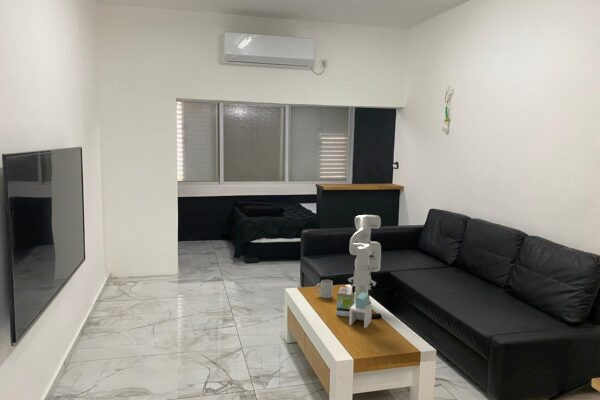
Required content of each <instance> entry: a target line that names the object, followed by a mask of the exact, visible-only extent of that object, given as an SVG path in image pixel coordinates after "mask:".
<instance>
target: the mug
mask: <svg viewBox="0 0 600 400" xmlns="http://www.w3.org/2000/svg"><path fill="white" fill-rule="evenodd" d="M333 283H334V282H333V280H330V279H322V280H321V281H320V283H319V282H318V283H317V284H316V286H315V291H316V293H318V294H320V297H321V298H322V299H332V298H333V290H334V289H333V288H334V285H333ZM319 286H320V290H318V288H319Z"/></svg>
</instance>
